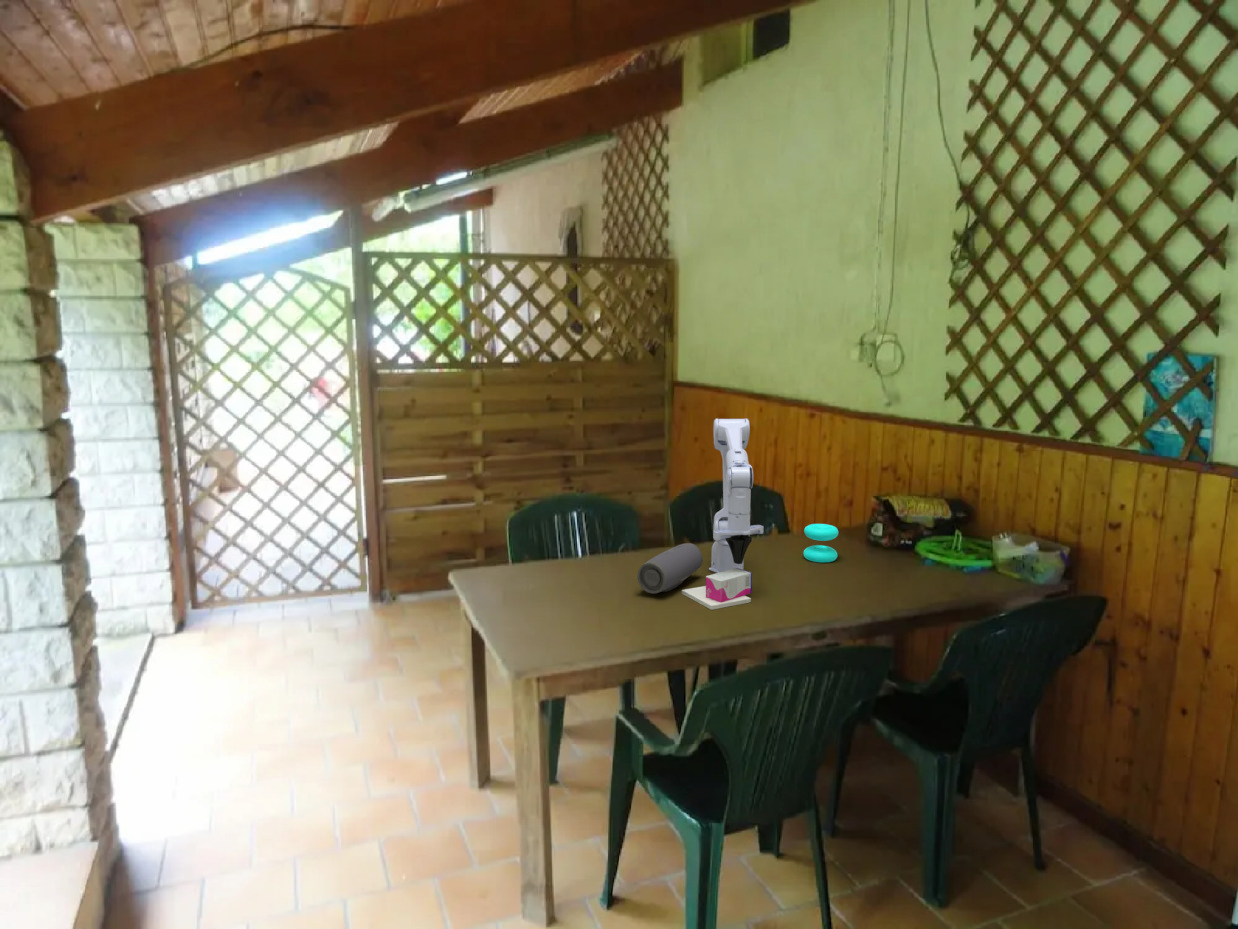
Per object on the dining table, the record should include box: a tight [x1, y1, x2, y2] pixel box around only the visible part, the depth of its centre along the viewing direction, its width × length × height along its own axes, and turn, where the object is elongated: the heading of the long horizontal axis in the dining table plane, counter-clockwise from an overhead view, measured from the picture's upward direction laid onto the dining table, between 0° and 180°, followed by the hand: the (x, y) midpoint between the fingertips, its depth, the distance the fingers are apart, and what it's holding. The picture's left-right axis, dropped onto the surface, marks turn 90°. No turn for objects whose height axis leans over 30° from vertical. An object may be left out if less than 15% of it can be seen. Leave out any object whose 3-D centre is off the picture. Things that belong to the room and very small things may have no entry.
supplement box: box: [705, 568, 753, 602], centre depth 212 cm, size 6×6×12 cm
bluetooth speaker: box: [637, 542, 704, 594], centre depth 223 cm, size 23×9×10 cm, turn 149°
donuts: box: [803, 523, 839, 564], centre depth 248 cm, size 10×10×10 cm
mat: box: [681, 585, 752, 610], centre depth 214 cm, size 14×12×1 cm
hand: (738, 563), depth 215 cm, fingers closed
